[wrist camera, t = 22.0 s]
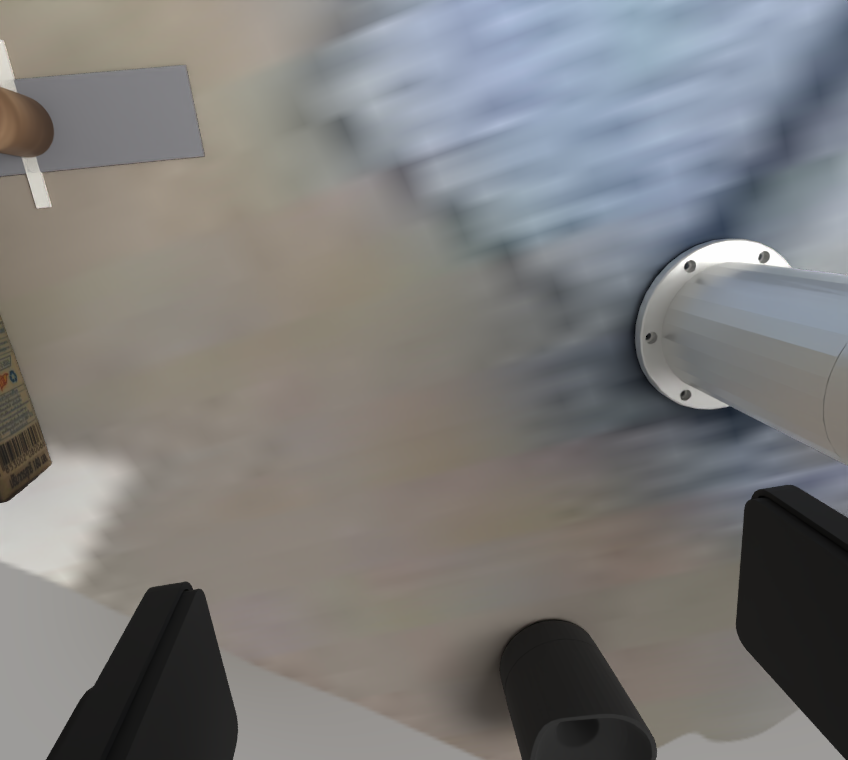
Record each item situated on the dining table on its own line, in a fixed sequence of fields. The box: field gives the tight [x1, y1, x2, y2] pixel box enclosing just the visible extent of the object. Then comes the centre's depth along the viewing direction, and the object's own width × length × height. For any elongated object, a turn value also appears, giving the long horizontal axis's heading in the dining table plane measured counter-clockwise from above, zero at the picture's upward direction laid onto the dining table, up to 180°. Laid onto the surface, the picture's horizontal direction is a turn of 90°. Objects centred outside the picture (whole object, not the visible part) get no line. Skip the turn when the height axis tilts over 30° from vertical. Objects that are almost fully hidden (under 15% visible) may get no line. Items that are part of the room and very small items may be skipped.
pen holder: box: [500, 620, 657, 760], centre depth 44 cm, size 9×9×10 cm
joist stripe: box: [0, 40, 205, 208], centre depth 33 cm, size 16×9×1 cm, turn 96°
